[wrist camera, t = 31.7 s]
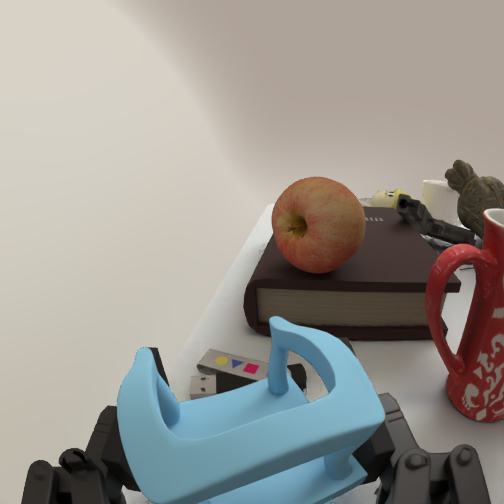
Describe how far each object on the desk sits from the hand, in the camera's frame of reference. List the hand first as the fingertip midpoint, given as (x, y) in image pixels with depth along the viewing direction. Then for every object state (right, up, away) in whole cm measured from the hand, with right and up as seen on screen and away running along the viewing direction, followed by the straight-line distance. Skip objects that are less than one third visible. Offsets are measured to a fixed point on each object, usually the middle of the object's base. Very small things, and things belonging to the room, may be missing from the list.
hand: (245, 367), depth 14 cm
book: (+12, +3, +24) cm, 27 cm away
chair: (+1, -8, -2) cm, 9 cm away
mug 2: (+17, -5, +3) cm, 18 cm away
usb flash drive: (0, -3, +8) cm, 9 cm away
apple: (+9, +8, +13) cm, 18 cm away
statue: (+56, +11, +34) cm, 66 cm away
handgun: (+34, +8, +22) cm, 42 cm away
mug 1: (+42, +11, +41) cm, 60 cm away
